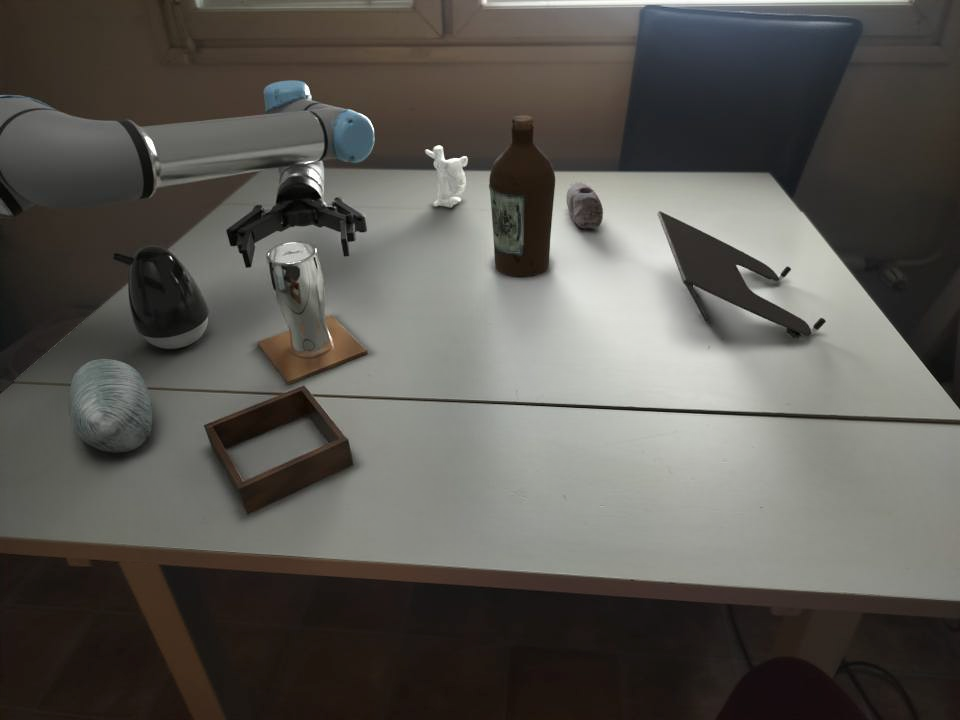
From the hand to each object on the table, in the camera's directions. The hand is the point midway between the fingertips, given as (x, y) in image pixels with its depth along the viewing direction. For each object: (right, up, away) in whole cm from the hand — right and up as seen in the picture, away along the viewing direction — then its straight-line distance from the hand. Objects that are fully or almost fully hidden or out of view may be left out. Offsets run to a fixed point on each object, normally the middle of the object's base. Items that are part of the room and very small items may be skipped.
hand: (296, 253), depth 93 cm
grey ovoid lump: (-19, -24, -9) cm, 32 cm away
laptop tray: (+65, -7, +10) cm, 66 cm away
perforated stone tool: (+46, +13, +38) cm, 61 cm away
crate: (+2, -26, -15) cm, 30 cm away
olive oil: (+33, +2, +23) cm, 40 cm away
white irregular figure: (+19, +18, +46) cm, 53 cm away
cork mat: (+1, -13, +4) cm, 14 cm away
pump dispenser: (-20, -12, +7) cm, 24 cm away
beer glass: (+1, -13, +3) cm, 14 cm away
